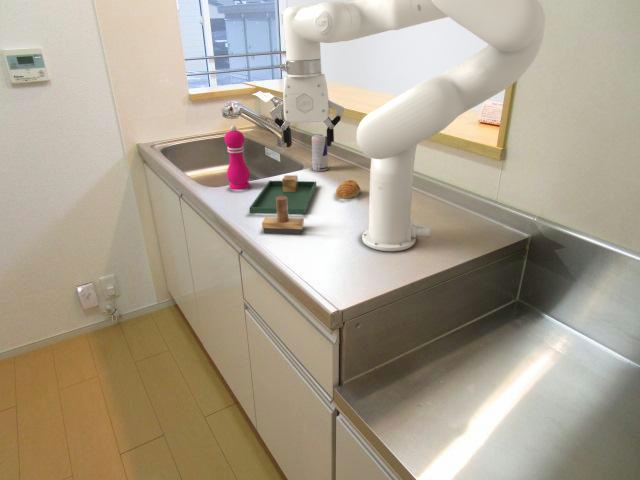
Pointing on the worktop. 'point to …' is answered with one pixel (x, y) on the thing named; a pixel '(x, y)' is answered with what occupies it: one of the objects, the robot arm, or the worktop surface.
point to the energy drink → (319, 152)
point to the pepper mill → (236, 160)
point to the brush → (282, 220)
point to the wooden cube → (290, 183)
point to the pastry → (348, 189)
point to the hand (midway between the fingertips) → (309, 145)
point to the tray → (275, 188)
